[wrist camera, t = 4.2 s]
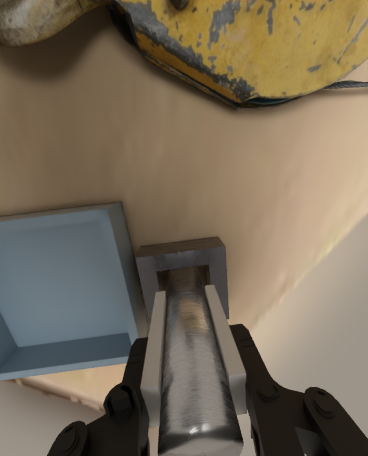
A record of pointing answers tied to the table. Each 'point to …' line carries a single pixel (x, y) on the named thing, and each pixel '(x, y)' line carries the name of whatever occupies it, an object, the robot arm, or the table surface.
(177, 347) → the pin
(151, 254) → the bracket
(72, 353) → the parts tray
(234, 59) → the pulley block
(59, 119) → the table surface
